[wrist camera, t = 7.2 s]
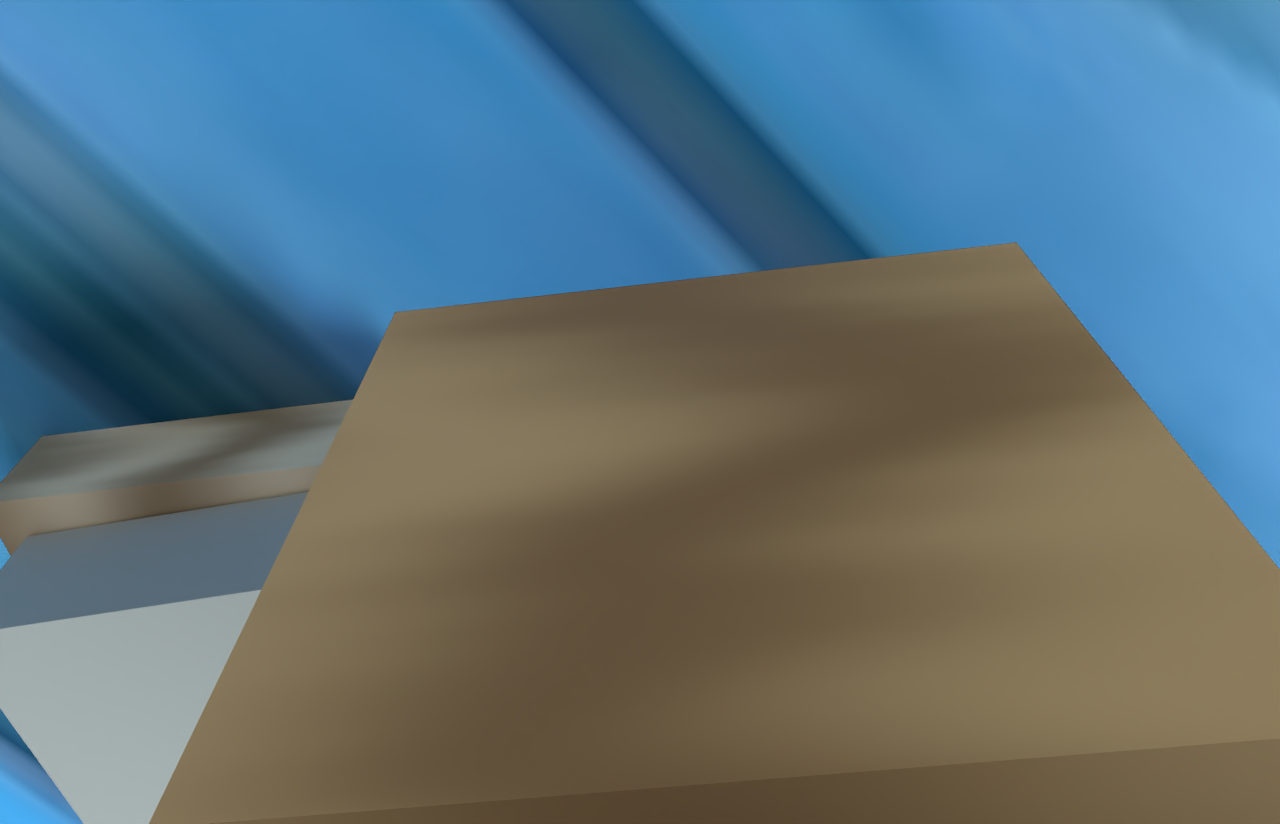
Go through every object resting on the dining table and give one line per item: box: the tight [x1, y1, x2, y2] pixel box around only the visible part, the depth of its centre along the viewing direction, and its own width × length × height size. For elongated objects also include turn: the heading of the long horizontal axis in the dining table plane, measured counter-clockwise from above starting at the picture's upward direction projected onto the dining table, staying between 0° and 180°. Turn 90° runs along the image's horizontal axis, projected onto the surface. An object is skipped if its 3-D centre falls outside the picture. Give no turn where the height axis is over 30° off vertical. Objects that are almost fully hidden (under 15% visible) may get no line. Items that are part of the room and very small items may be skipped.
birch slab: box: [0, 400, 353, 556], centre depth 34 cm, size 12×12×4 cm
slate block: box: [0, 492, 308, 824], centre depth 31 cm, size 10×10×4 cm
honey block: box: [149, 243, 1280, 824], centre depth 9 cm, size 6×6×6 cm
